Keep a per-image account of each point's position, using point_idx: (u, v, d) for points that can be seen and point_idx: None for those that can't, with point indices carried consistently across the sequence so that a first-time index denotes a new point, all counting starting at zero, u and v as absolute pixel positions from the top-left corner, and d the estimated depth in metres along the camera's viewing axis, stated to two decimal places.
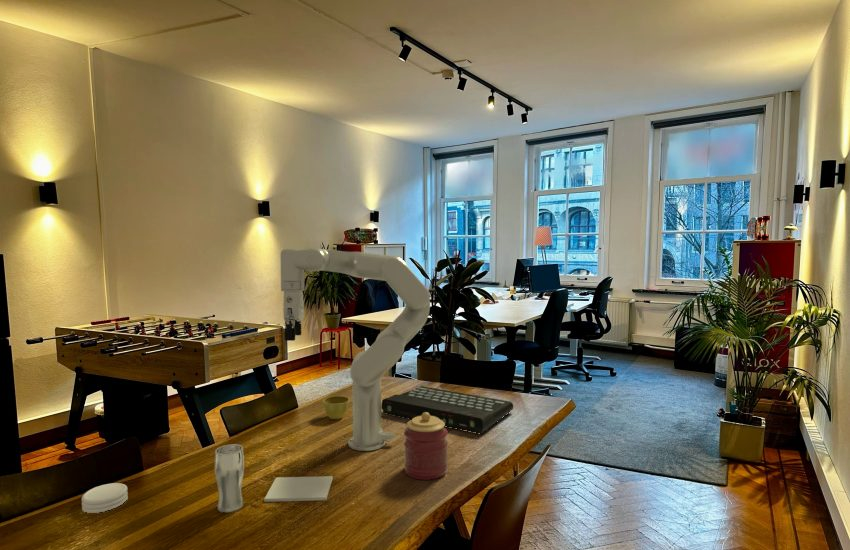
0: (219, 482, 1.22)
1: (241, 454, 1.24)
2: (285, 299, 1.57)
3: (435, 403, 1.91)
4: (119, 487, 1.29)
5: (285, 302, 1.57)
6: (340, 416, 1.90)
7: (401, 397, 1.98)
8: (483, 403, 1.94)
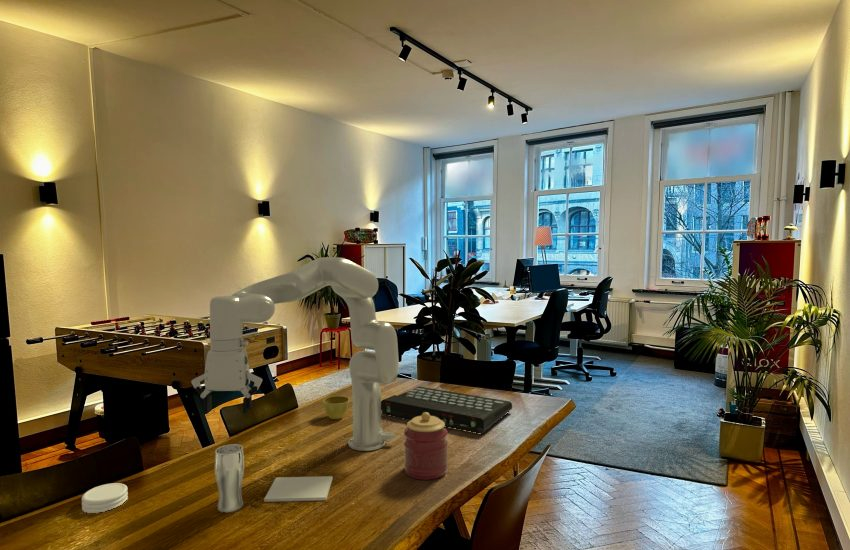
0: (219, 482, 1.22)
1: (241, 454, 1.24)
2: (243, 361, 1.22)
3: (435, 403, 1.90)
4: (119, 487, 1.29)
5: (244, 365, 1.22)
6: (340, 416, 1.90)
7: (400, 398, 1.97)
8: (482, 403, 1.94)
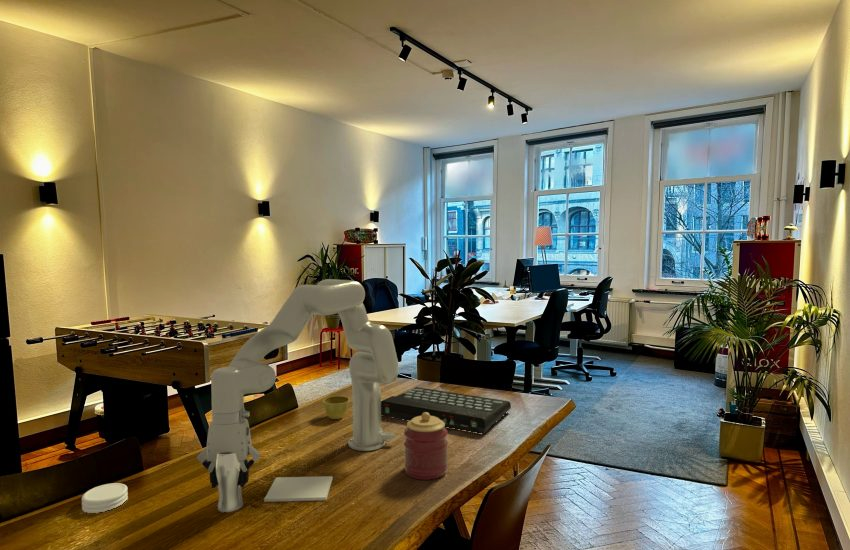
0: (219, 482, 1.22)
1: None
2: (245, 433, 1.23)
3: (434, 404, 1.89)
4: (119, 487, 1.29)
5: (245, 436, 1.23)
6: (340, 416, 1.90)
7: (399, 399, 1.96)
8: (481, 403, 1.94)
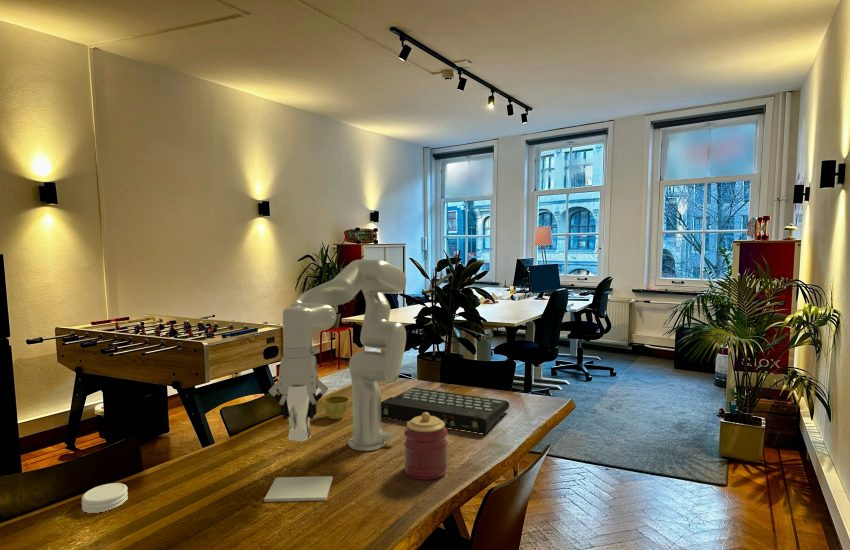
0: (291, 413, 1.30)
1: None
2: (314, 367, 1.31)
3: (434, 405, 1.89)
4: (119, 487, 1.29)
5: (315, 371, 1.31)
6: (340, 416, 1.90)
7: (398, 400, 1.95)
8: (480, 403, 1.94)
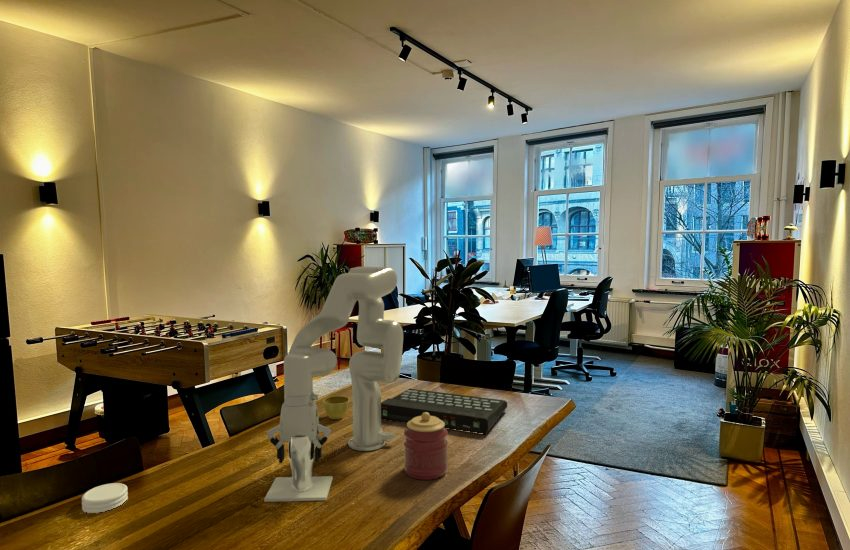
0: (293, 463, 1.31)
1: None
2: (315, 414, 1.32)
3: (433, 405, 1.88)
4: (119, 487, 1.29)
5: (315, 418, 1.32)
6: (340, 416, 1.90)
7: (396, 401, 1.93)
8: (479, 403, 1.94)
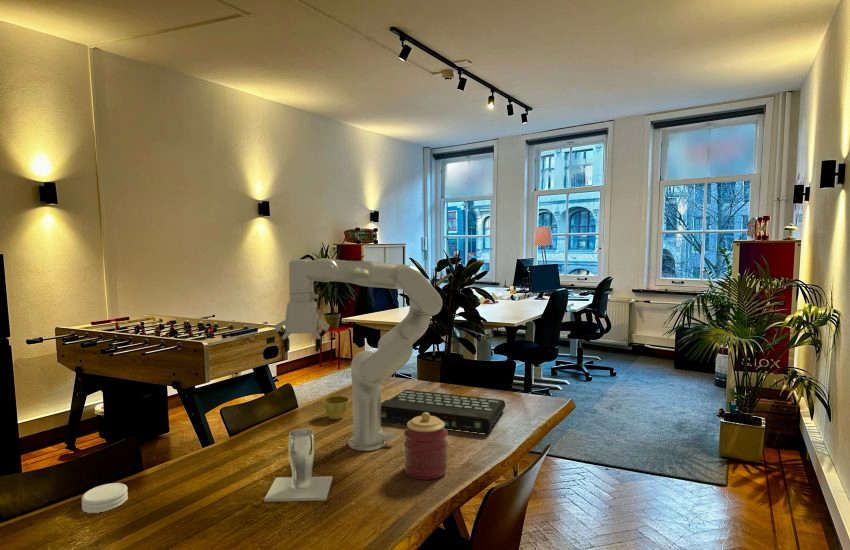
0: (293, 463, 1.31)
1: (313, 437, 1.33)
2: (315, 310, 1.55)
3: (433, 406, 1.87)
4: (119, 487, 1.29)
5: (316, 313, 1.55)
6: (340, 416, 1.90)
7: (395, 402, 1.91)
8: (478, 403, 1.94)
